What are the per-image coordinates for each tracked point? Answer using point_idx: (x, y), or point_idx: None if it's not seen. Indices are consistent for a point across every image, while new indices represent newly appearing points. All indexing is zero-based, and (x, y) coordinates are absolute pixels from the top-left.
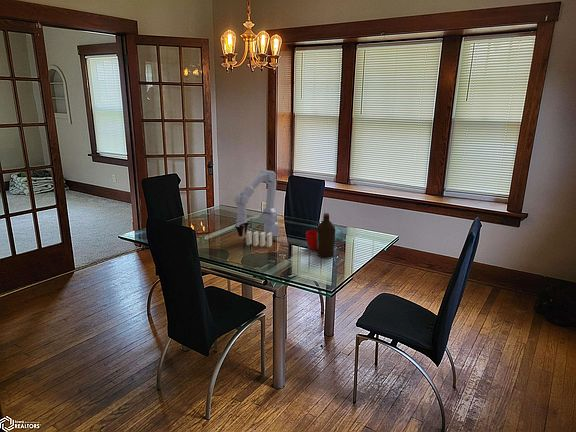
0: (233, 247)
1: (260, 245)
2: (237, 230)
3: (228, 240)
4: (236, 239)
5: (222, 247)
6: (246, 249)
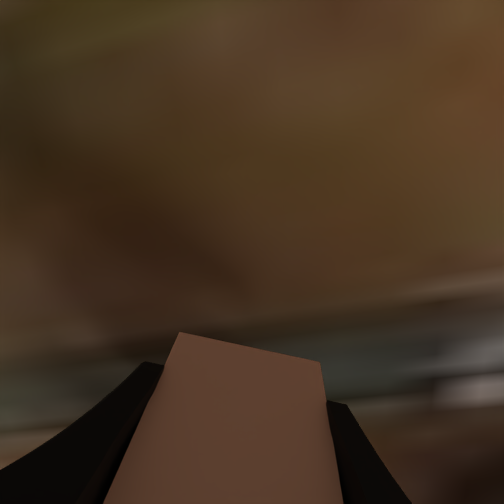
0: (54, 224)
1: None
2: (37, 453)
3: (396, 57)
4: (446, 194)
5: (5, 44)
6: (28, 389)
